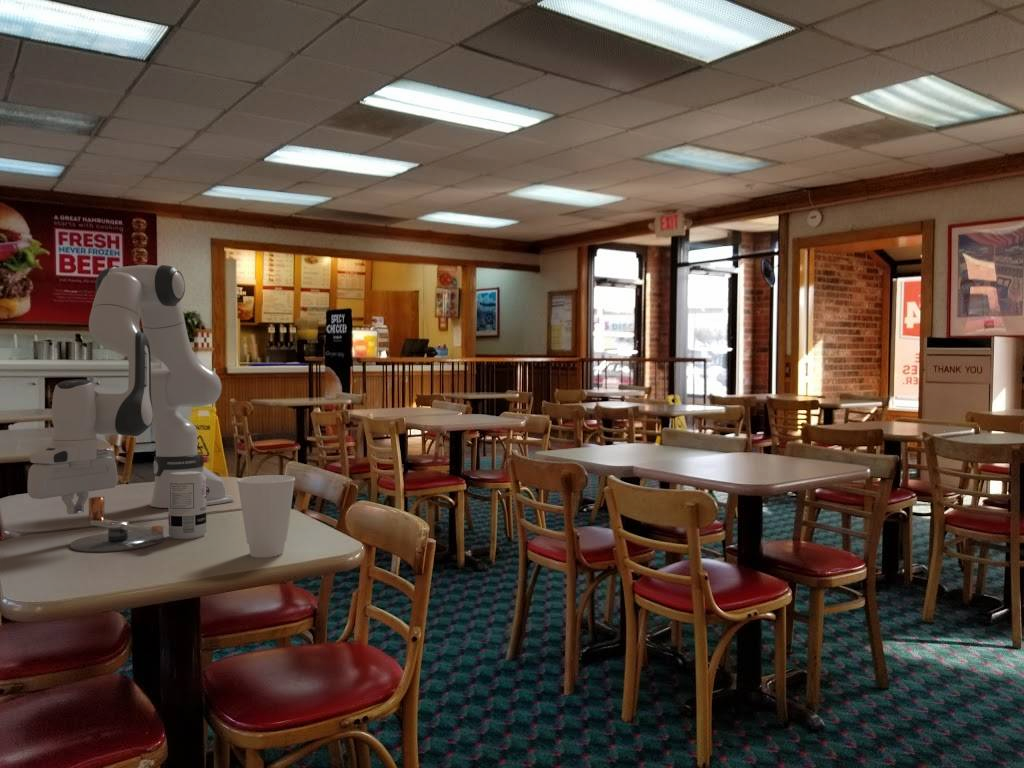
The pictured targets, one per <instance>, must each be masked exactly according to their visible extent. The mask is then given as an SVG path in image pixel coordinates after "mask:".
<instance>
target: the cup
mask: <svg viewBox="0 0 1024 768" xmlns="http://www.w3.org/2000/svg"><path fill="white" fill-rule="evenodd" d="M295 481H296V478H295V476H291V475H283V474H282V475H281V474H269V475H268V474H267V475H266V474H265V475H253V476H251V475H250V476H246V477H240V478H238V479H237V481H236V482H237V487H238V493H239V499H240V506H241V512H242V513H241V514H242V519H243V524H244V525H243V527H244V531H245V532H244V533H245V538H246V543H247V545H248V549H249V555H250V556H251V557H252V558H253V557H254V558H273V556H274V557H278V555H279V556H281V554H282V555H283V554H284V553H285V546H286V545H285V543H286V542H287V541H288V533H289V524H290V520H291V519H290V518H291V517H290V516H291V510H292V504H293V503H292V502H293V495H294V487H295Z"/></svg>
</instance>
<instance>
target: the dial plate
mask: <svg viewBox="0 0 1024 768" xmlns="http://www.w3.org/2000/svg"><path fill="white" fill-rule="evenodd" d="M164 540H165V536H164V534H163V535H159V536H155V535H152V534H146V533H140V532H135V531H129V530H123V529H121V530H108V529H107V533H100V534H99V533H98V534H94V535H93V534H92V535H89V536H84V537H80V538H78V539H74V540H73V541H71V542H70V544H69V545H70V549H71V550H73V551H76V552H82V553H115V552H116V553H117V552H125V551H132V550H139V549H144V548H148V547H153V546H155V545H158V544H160V543H163V541H164Z"/></svg>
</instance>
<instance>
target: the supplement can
mask: <svg viewBox="0 0 1024 768" xmlns="http://www.w3.org/2000/svg"><path fill="white" fill-rule="evenodd" d="M167 509H168V511H167V512H168V513H167V514H168V518H167V519H168V536H170V537H171V539H174V540H192V539H197V538H202V537H203V536H204V535H205V534H206V533H207V505H206V477H205V475H204V474H203V471H177V472H172V473H171V476H170V477H169V479H168V508H167Z"/></svg>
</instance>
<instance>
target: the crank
mask: <svg viewBox="0 0 1024 768" xmlns="http://www.w3.org/2000/svg"><path fill="white" fill-rule="evenodd" d="M88 520H89V521H90V525H91V526H95V527H96V526H97V527H103V528H106V529H107V531H108V530H121V529H123V530H128V531H135V532H140V533H146V534H152V535H155V536H159V535H164V526H163V525H153V526H151V527H149V526H143V525H136V524H130V523H129V521H128V520H111V519H107V518H106V519H105V496H91V497H88Z"/></svg>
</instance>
